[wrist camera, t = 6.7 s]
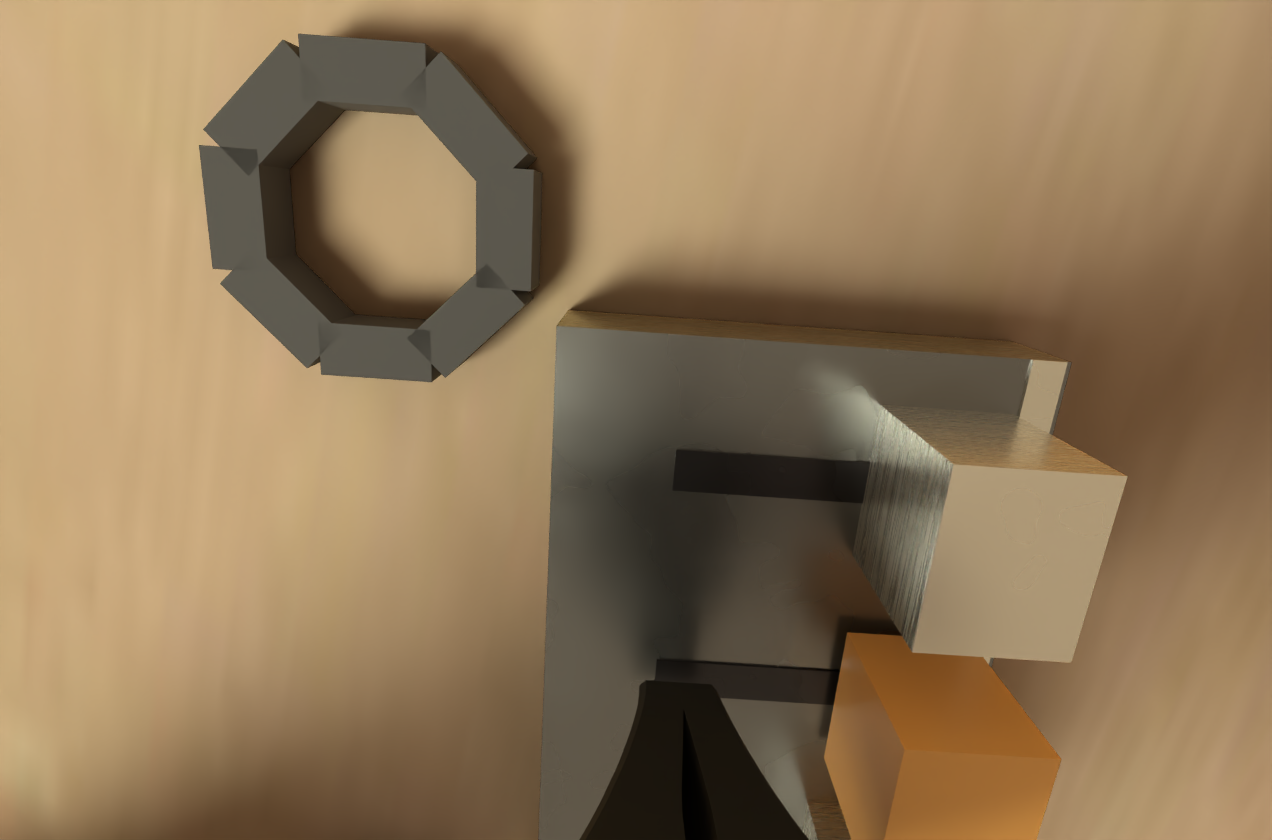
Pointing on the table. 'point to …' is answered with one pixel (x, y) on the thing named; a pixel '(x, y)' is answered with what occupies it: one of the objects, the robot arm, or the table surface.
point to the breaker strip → (795, 529)
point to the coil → (263, 215)
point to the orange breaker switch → (933, 748)
